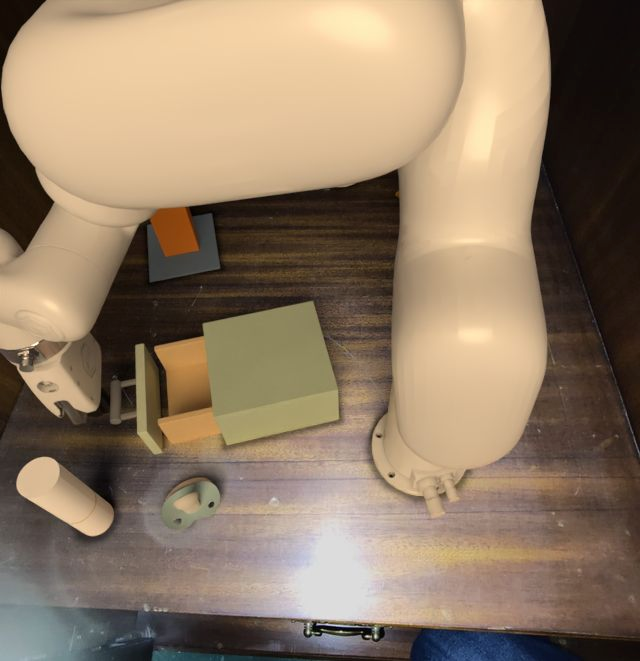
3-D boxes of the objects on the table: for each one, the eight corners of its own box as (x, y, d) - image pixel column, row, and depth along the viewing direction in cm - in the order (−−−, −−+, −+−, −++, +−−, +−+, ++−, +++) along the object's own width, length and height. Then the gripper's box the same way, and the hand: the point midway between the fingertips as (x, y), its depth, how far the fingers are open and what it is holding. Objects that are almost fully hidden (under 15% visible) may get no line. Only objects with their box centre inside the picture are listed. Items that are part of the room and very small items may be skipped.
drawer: (122, 462, 68) (102, 441, 62) (121, 376, 76) (103, 351, 70) (261, 430, 70) (254, 407, 64) (247, 349, 77) (240, 323, 72)
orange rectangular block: (199, 250, 91) (182, 198, 81) (165, 257, 90) (143, 205, 80) (197, 233, 93) (180, 181, 84) (164, 239, 92) (143, 187, 83)
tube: (116, 500, 66) (64, 455, 54) (110, 535, 64) (53, 497, 51) (83, 501, 66) (23, 457, 54) (75, 536, 64) (10, 499, 51)
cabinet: (227, 445, 70) (213, 417, 63) (215, 356, 78) (202, 323, 71) (339, 419, 71) (338, 389, 64) (316, 335, 79) (313, 300, 72)
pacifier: (158, 496, 66) (172, 539, 63) (142, 478, 61) (156, 524, 58) (212, 470, 68) (228, 511, 65) (200, 450, 63) (217, 493, 60)
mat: (220, 268, 88) (220, 267, 88) (150, 282, 87) (149, 280, 87) (212, 214, 96) (211, 212, 96) (147, 226, 95) (146, 224, 95)
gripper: (66, 382, 50) (130, 454, 65) (73, 271, 59) (129, 357, 74) (-14, 399, 49) (70, 468, 64) (5, 284, 58) (75, 368, 73)
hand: (101, 409), depth 69 cm, fingers closed
